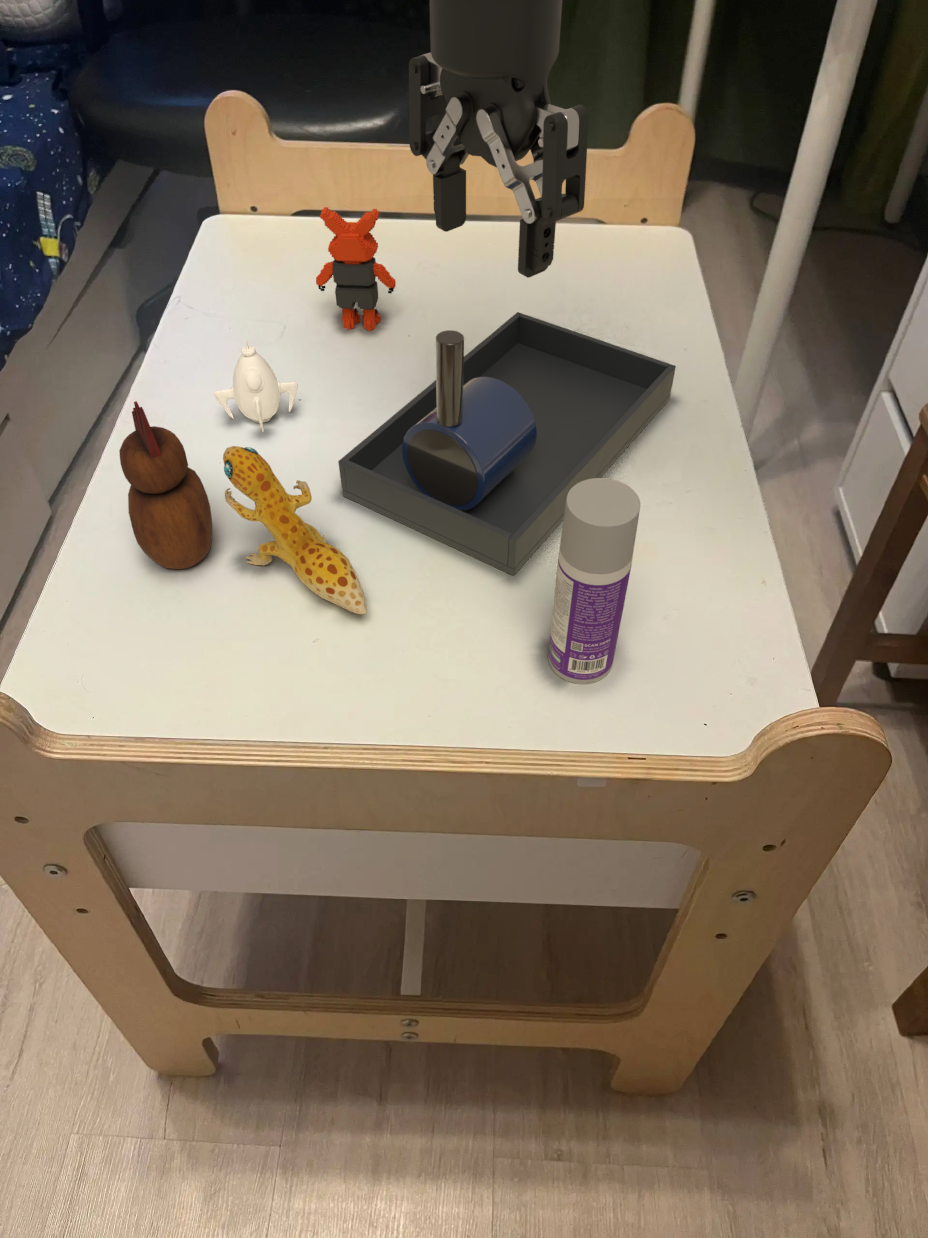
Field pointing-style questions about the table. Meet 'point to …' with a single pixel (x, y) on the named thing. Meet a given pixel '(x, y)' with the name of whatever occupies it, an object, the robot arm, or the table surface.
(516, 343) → the tray
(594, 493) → the container
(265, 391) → the rocket toy
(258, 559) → the toy
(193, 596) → the table surface
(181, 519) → the wooden figurine
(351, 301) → the toy animal
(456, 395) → the blue saucepan
